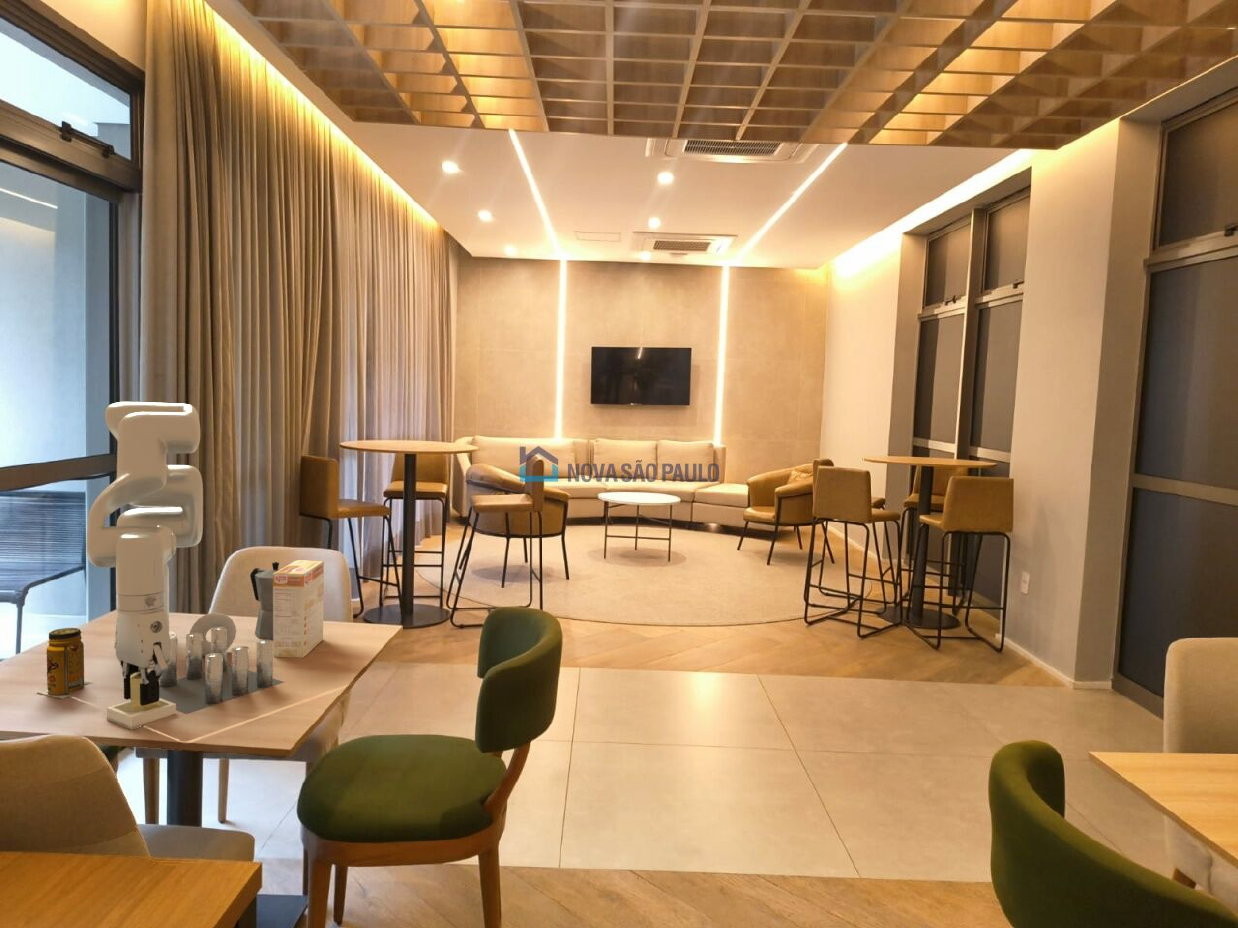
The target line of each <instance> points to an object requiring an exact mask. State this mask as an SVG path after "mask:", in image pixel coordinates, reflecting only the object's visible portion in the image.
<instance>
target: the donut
mask: <svg viewBox="0 0 1238 928" xmlns="http://www.w3.org/2000/svg"><path fill="white" fill-rule="evenodd" d="M216 627H226V628H227V651H228V650H229V648H231V646H233V643H234V641H235V640H236V635H237V628H236V627H237V626H236V624H235V622H234V620H233V619H232V618H231V617H230V616H229V615H227V614H225V613H222V612H209V613H207V614H204V615H202V616H201V617H199V618H198V619H197V620H196V621H195V622H194V624H193V625H192V626H191V628H190V630H189V634H190V633H202V647H203V657H205V656H206V655H208V654H211V641H209V640H207V633H208V632H209V630H210V631H211V629H212V628H216Z"/></svg>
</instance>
